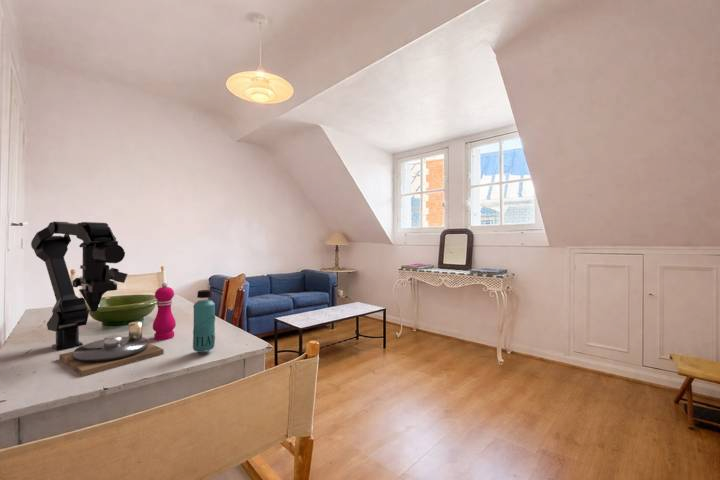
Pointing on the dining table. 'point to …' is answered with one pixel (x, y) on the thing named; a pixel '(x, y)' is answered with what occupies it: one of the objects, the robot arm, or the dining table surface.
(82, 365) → the wheel mount
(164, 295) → the pepper mill
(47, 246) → the robot arm
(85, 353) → the handwheel
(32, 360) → the dining table surface
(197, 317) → the beverage bottle
